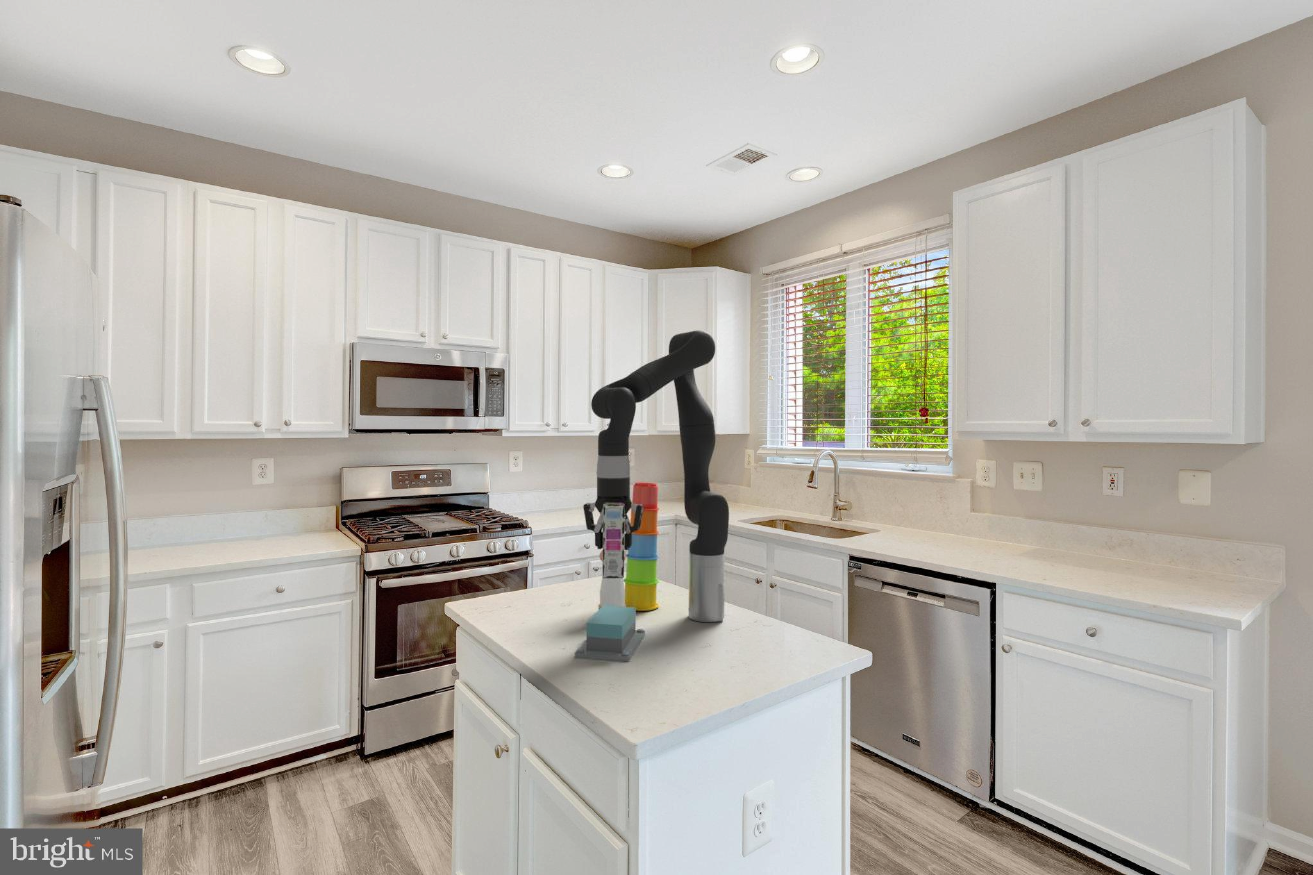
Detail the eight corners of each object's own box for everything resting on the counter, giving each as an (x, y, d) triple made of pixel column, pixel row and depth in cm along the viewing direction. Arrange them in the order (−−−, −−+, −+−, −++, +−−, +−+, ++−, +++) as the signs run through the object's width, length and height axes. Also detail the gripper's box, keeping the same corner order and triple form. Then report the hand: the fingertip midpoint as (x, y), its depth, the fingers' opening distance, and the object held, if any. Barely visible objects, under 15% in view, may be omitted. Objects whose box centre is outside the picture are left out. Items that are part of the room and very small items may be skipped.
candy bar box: (625, 578, 138) (625, 504, 138) (602, 579, 138) (602, 504, 137) (623, 567, 149) (623, 498, 149) (602, 567, 149) (602, 498, 148)
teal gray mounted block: (645, 634, 151) (645, 605, 151) (628, 661, 133) (629, 628, 133) (597, 631, 153) (597, 602, 153) (574, 657, 136) (575, 625, 136)
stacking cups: (620, 602, 179) (622, 481, 179) (656, 601, 181) (657, 481, 180) (622, 612, 169) (624, 484, 169) (660, 611, 170) (662, 484, 170)
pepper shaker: (627, 614, 167) (628, 543, 167) (623, 623, 160) (624, 548, 160) (601, 613, 168) (601, 542, 168) (595, 622, 161) (596, 547, 160)
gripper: (647, 474, 145) (647, 547, 146) (587, 473, 148) (587, 544, 148) (641, 477, 138) (640, 553, 138) (578, 476, 141) (578, 551, 141)
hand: (613, 548), depth 143 cm, fingers closed on candy bar box, 5 cm apart
